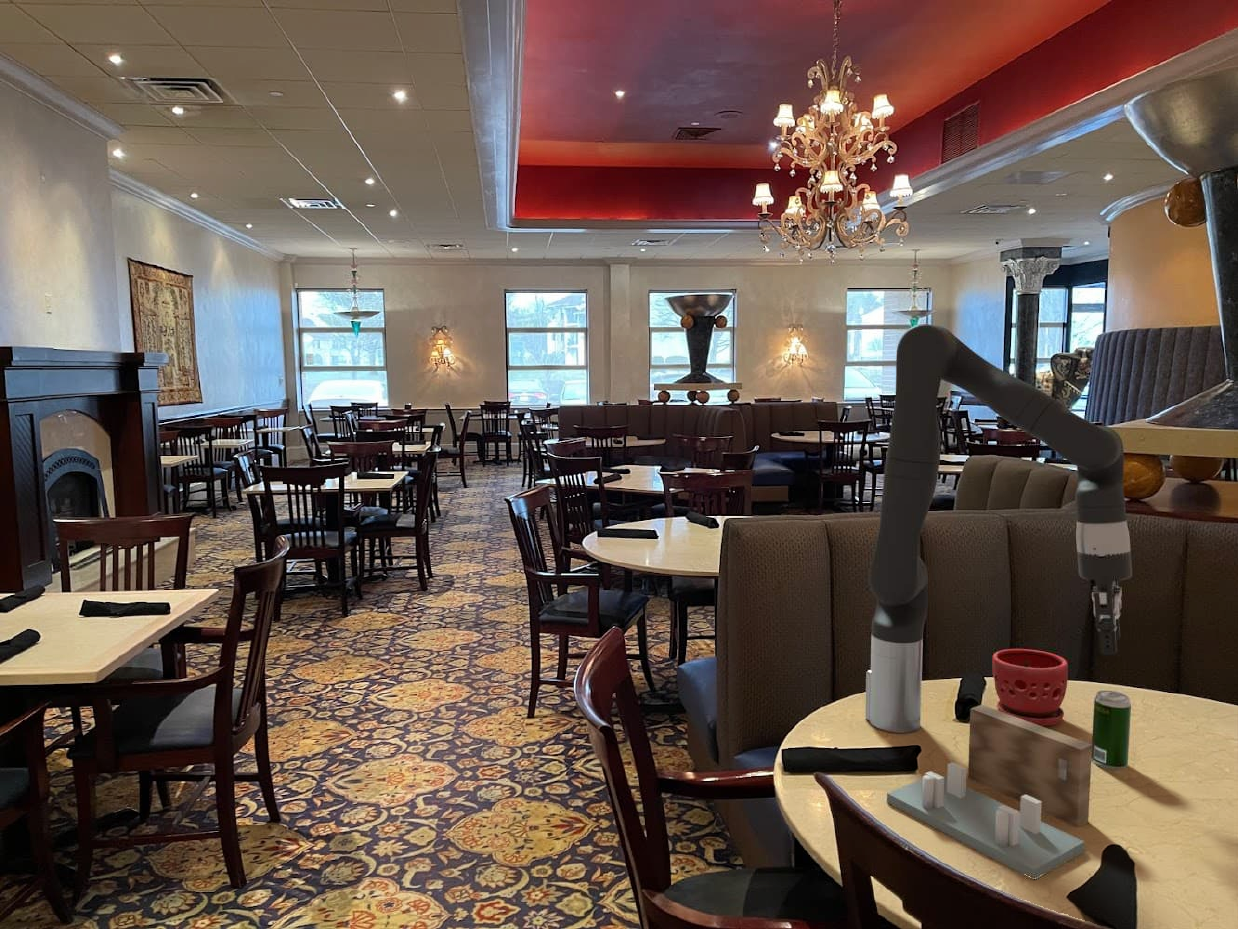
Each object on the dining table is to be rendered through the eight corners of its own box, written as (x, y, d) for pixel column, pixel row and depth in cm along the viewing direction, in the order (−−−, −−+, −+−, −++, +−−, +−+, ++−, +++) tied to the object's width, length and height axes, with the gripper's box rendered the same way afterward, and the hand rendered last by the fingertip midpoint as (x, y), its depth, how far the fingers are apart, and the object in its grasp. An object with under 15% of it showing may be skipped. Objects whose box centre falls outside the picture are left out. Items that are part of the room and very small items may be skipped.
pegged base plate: (886, 802, 129) (887, 765, 128) (936, 782, 135) (937, 746, 134) (1034, 880, 108) (1036, 836, 108) (1084, 851, 115) (1086, 810, 114)
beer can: (1117, 774, 137) (1121, 704, 136) (1084, 762, 142) (1088, 694, 140) (1133, 765, 140) (1137, 697, 139) (1100, 754, 145) (1104, 687, 143)
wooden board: (967, 778, 136) (970, 708, 135) (979, 773, 138) (982, 704, 137) (1076, 828, 121) (1080, 749, 120) (1088, 821, 123) (1092, 744, 122)
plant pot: (1058, 708, 165) (1061, 650, 163) (1071, 735, 152) (1074, 672, 151) (987, 700, 169) (989, 643, 168) (993, 726, 157) (996, 664, 155)
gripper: (1081, 541, 142) (1088, 634, 143) (1072, 556, 131) (1080, 657, 131) (1132, 541, 138) (1139, 637, 139) (1127, 556, 126) (1135, 660, 127)
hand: (1110, 646), depth 135 cm, fingers open, 8 cm apart
